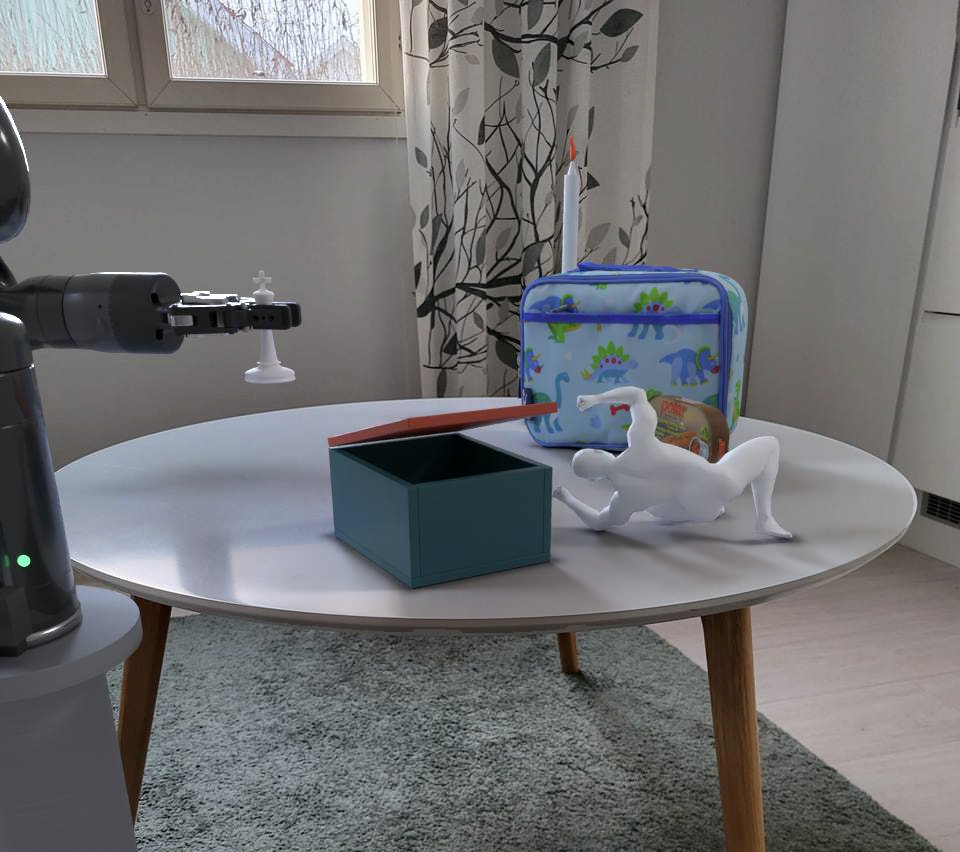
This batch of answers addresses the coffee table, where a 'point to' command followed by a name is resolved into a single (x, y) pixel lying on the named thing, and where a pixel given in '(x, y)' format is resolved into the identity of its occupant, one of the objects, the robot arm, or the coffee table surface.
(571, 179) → the candlestick
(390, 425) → the red box lid
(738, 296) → the lunch box
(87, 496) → the coffee table surface
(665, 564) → the coffee table surface
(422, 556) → the teal box
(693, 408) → the tin
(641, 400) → the person figurine
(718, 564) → the coffee table surface
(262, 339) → the chess piece
